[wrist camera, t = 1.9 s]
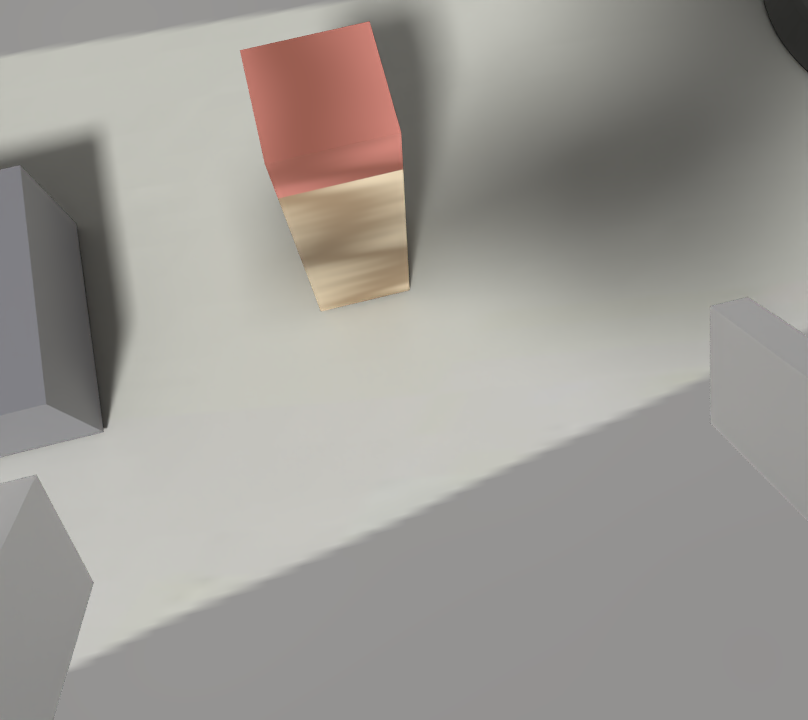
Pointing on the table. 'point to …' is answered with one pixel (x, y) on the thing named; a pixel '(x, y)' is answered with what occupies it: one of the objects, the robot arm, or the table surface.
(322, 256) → the plug peg
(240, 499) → the table surface
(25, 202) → the socket block
